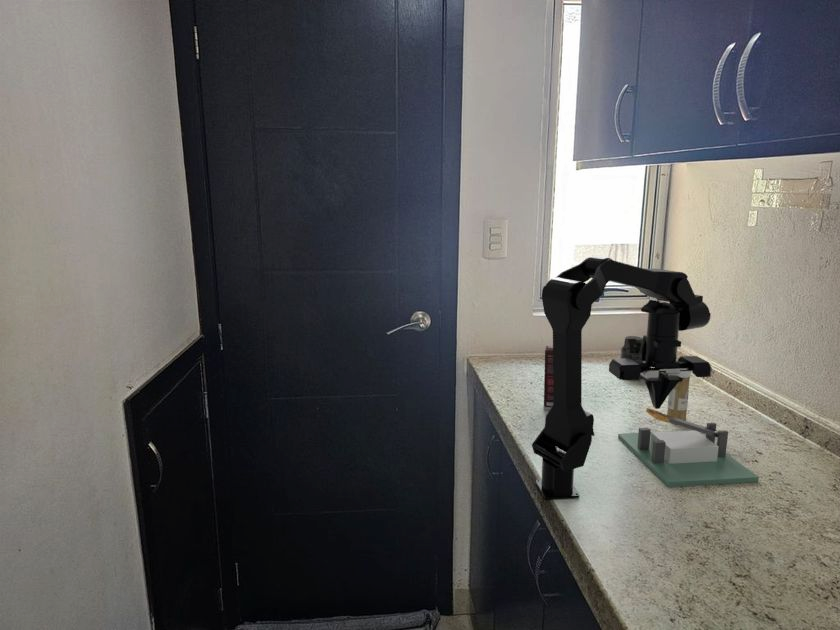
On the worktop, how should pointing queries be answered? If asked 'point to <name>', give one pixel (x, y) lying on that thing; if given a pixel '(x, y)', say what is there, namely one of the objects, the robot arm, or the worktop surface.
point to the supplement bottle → (632, 354)
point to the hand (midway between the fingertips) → (656, 408)
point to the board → (691, 469)
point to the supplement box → (548, 378)
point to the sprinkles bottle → (679, 397)
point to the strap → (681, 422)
